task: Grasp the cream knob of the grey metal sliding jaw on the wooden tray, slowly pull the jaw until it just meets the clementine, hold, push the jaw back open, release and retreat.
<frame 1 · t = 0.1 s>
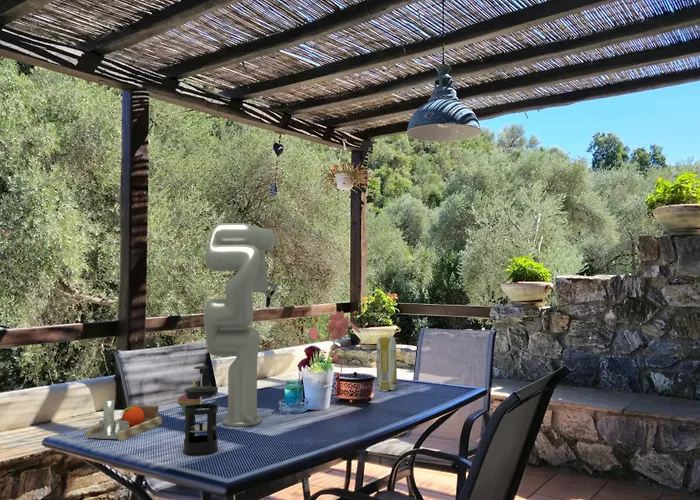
hand: (255, 307, 233), 37 cm above the table, tool pointing down, fingers open, 9 cm apart
pink artificial flower: (339, 394, 251), on the table
french press: (199, 451, 163), on the table
press jaw: (109, 418, 179), point 6 cm above the table, slide at 0.0 cm
cupcake: (190, 413, 214), on the table
juice carton: (387, 390, 260), on the table
wooden tray: (125, 431, 187), on the table
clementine: (131, 429, 190), resting on wooden tray
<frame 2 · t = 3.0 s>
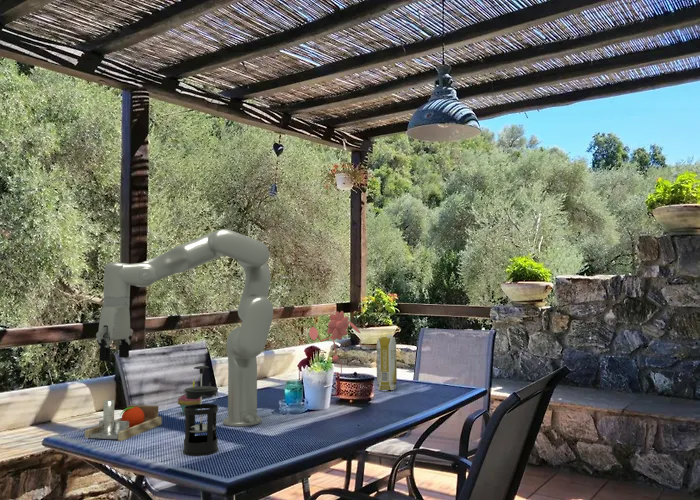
hand: (114, 359, 181), 23 cm above the table, tool pointing down, fingers open, 9 cm apart
nothing on the table moved.
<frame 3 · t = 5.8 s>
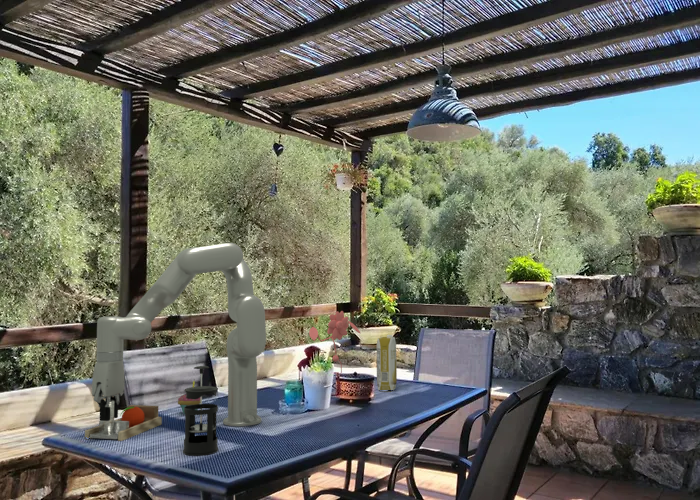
hand: (108, 418, 179), 6 cm above the table, tool pointing down, fingers closed on press jaw, 3 cm apart
press jaw: (109, 418, 179), point 6 cm above the table, slide at 0.0 cm, touching gripper
everything else where it was.
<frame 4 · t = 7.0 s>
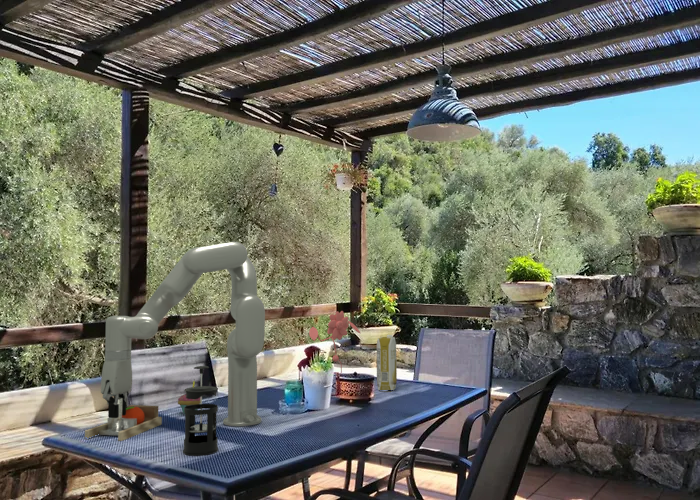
hand: (117, 415, 183), 6 cm above the table, tool pointing down, fingers closed on press jaw, 3 cm apart
press jaw: (118, 415, 183), point 6 cm above the table, slide at 4.2 cm, touching gripper
everything else where it was.
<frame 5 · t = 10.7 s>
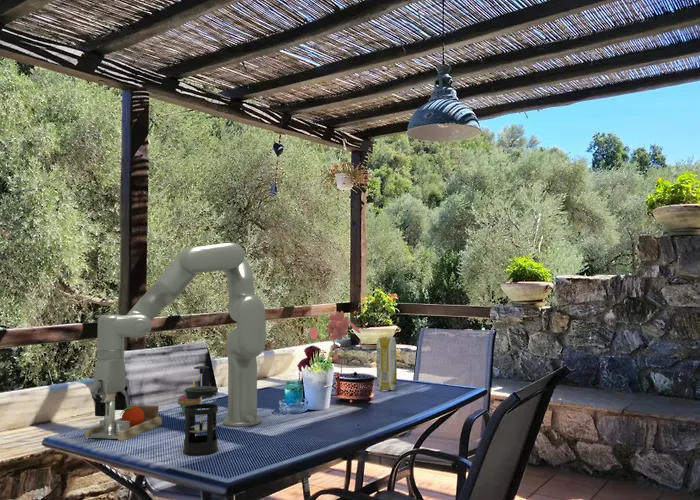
hand: (110, 412, 179), 7 cm above the table, tool pointing down, fingers open, 9 cm apart
press jaw: (110, 418, 180), point 6 cm above the table, slide at 0.3 cm
everything else where it was.
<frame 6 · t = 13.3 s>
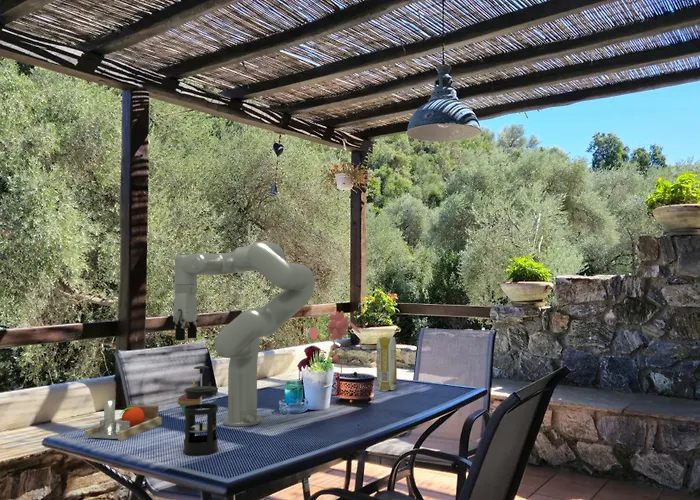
hand: (186, 339, 207), 27 cm above the table, tool pointing down, fingers open, 9 cm apart
nothing on the table moved.
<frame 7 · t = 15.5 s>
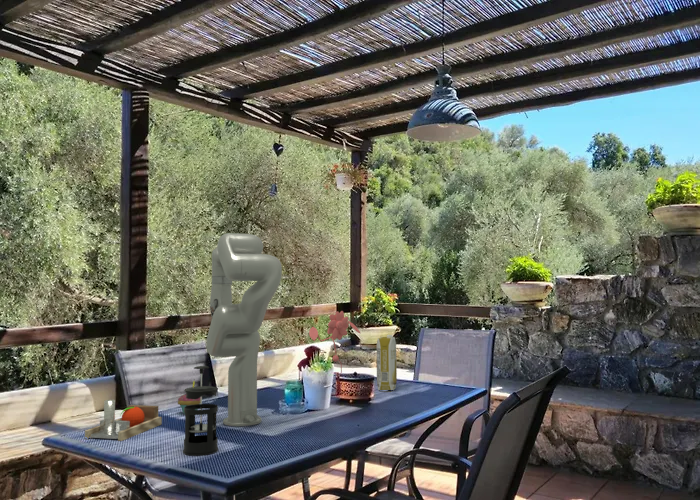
hand: (221, 327, 223), 30 cm above the table, tool pointing down, fingers open, 9 cm apart
nothing on the table moved.
at the end: press jaw slide at 0.3 cm; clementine moved 0.2 cm from its start; press jaw touching nothing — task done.
